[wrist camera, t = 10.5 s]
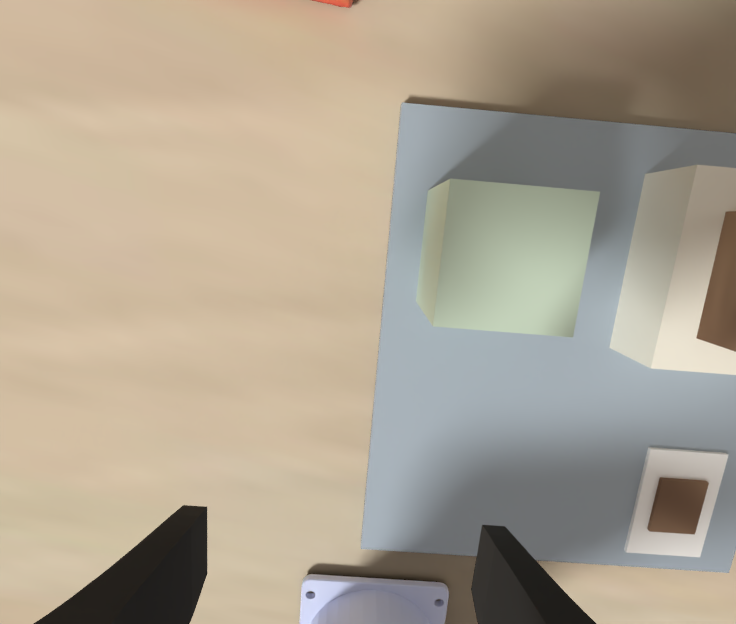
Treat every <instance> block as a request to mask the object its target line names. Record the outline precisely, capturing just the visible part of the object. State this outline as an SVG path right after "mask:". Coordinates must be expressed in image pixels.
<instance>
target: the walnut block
mask: <svg viewBox="0 0 736 624" xmlns="http://www.w3.org/2000/svg"><path fill="white" fill-rule="evenodd" d="M696 338H697V339H700V340H703V341H706V342H709V343H712V344H714V345H717V346H720V347H723V348H726V349H729V350H732V351H735V352H736V211H729V212H726V213H725V217H724V221H723V225H722V230H721V234H720V238H719V243H718V247H717V251H716V256H715V260H714V264H713V268H712V273H711V277H710V281H709V286H708V290H707V294H706V299H705V303H704V307H703V311H702V316H701V320H700V324H699V329H698V333H697V337H696Z"/></svg>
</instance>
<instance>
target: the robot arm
mask: <svg viewBox="0 0 736 624" xmlns="http://www.w3.org/2000/svg"><path fill="white" fill-rule="evenodd" d="M206 575H207V507H200V506H185V505H183V506H182V507H181V508H180V509H178V510H177V511H176V512H175V513H174V514H172V515H171V516H170V517H169V518H168V519H167V520H166V521H164V522H163V523H162V524H161V525H160V526H159V527H157V528H156V529H155V530H154V531H153V532H152V533H151V534H149V535H148V536H147V537H146V538H145V539H144V540H142V541H141V542H140V543H139V544H138V545H137V546H135V547H134V548H133V549H132V550H131V551H129V552H128V553H127V554H126V555H125V556H123V557H122V558H121V559H120V560H119V561H117V562H116V563H115V564H114V565H113V566H111V567H110V568H109V569H108V570H106V571H105V572H104V573H103V574H101V575H100V576H99V577H97V578H96V579H95V580H93V581H92V582H91V583H90V584H88V585H87V586H86V587H84V588H83V589H82V590H80V591H79V592H78V593H77V594H75V595H74V596H73V597H71V598H70V599H69V600H67V601H66V602H64V603H63V604H62V605H60V606H59V607H57V608H56V609H55V610H53V611H52V612H50V613H49V614H48V615H46V616H45V617H43V618H42V619H40V620H39V621H37V622H36V623H34V624H189V623H190V621H191V619H192V616H193V613H194V611H195V608H196V605H197V602H198V599H199V596H200V593H201V590H202V587H203V584H204V581H205V578H206ZM471 590H472V595H473V601H474V606H475V612H476V617H477V622H478V624H596V623H595V622H594V621H593V620H592V619H591V618H590V617H589V616H588V615H587V614H586V613H585V612H584V611H583V610H582V609H581V608H580V607H579V606H578V605H577V604H576V603H575V602H574V601H573V600H572V599H571V598H570V597H569V596H568V595H567V594H566V593H565V592H564V591H563V590H562V589H561V588H560V586H559V585H558V584H557V583H556V582H555V581H554V580H553V579H552V578H551V577H550V576H549V575H548V574H547V572H546V571H545V570H544V569H543V568H542V567H541V566H540V565H539V564H538V563H537V561H536V560H535V559H534V558H533V557H532V556H531V555H530V554H529V552H528V551H527V550H526V549H525V548H524V547H523V546H522V545H521V543H520V542H519V541H518V540H517V539H516V538H515V537H514V536H513V534H512V533H511V532H510V531H509V530H508V529H507V528H506V527H505V526H494V525H482V528H481V534H480V540H479V546H478V552H477V558H476V564H475V570H474V576H473V582H472V588H471ZM308 591H313V592H314V593H309V592H308ZM437 599H441V600H440V601H436V600H437ZM448 599H449V591H448V587H447V586H446V585H445V584H444V583H441V582H428V581H412V580H396V579H381V578H365V577H349V576H333V575H318V574H309V575H307V576H305V577H304V578H303V582H302V591H301V608H300V624H445V619H446V613H447V606H448Z"/></svg>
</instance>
